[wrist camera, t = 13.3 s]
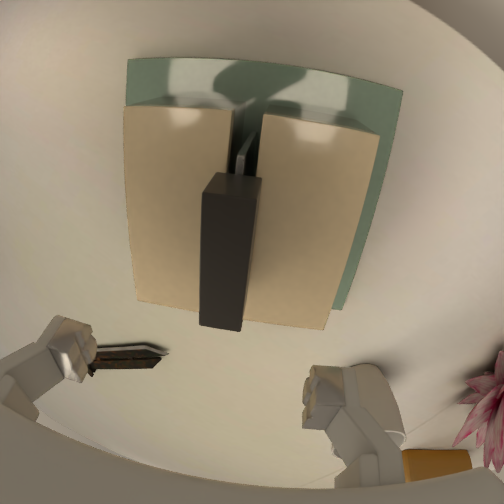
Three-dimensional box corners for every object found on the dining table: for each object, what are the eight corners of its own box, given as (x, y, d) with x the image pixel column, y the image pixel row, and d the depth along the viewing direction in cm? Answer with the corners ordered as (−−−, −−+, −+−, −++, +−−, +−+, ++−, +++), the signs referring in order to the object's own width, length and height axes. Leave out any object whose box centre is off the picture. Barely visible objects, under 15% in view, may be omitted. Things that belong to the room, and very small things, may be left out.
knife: (165, 341, 35) (161, 349, 34) (184, 374, 38) (182, 382, 37) (35, 338, 40) (30, 344, 39) (56, 365, 43) (52, 371, 42)
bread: (469, 448, 51) (479, 499, 38) (433, 469, 57) (439, 516, 45) (406, 448, 48) (413, 513, 35) (366, 469, 54) (369, 527, 42)
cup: (317, 388, 37) (319, 458, 29) (346, 350, 33) (354, 429, 24) (371, 396, 38) (379, 460, 29) (404, 360, 33) (421, 431, 25)
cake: (132, 59, 19) (81, 60, 14) (399, 90, 19) (440, 99, 13) (138, 273, 30) (110, 320, 24) (340, 304, 29) (349, 359, 24)
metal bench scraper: (237, 129, 21) (202, 170, 13) (271, 133, 21) (260, 177, 13) (226, 249, 27) (198, 337, 18) (255, 253, 26) (239, 344, 18)
